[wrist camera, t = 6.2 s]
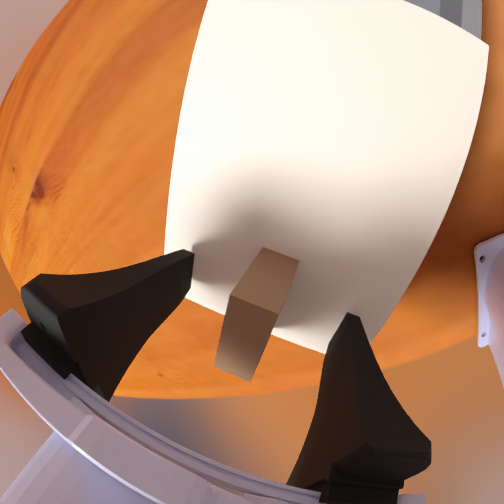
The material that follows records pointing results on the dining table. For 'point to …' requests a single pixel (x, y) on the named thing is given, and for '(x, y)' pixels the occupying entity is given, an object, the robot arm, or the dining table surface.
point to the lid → (316, 162)
